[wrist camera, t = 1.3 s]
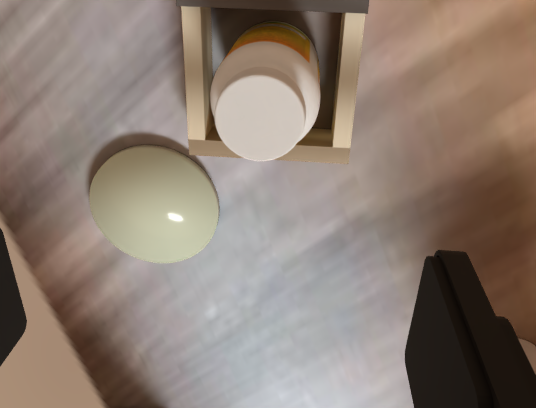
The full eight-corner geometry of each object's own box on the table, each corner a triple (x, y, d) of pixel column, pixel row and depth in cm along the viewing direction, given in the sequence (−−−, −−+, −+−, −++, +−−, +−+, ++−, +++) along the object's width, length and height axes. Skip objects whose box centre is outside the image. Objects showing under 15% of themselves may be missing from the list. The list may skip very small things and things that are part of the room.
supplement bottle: (213, 46, 30) (173, 92, 21) (294, 2, 28) (285, 32, 20) (256, 124, 32) (235, 194, 23) (333, 86, 30) (341, 146, 22)
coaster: (220, 261, 37) (219, 267, 37) (102, 252, 38) (98, 258, 37) (218, 148, 33) (216, 153, 32) (84, 141, 33) (80, 145, 33)
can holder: (345, 144, 32) (349, 171, 29) (199, 137, 33) (185, 161, 29) (362, -17, 28) (370, -9, 24) (192, -23, 28) (175, -16, 25)
